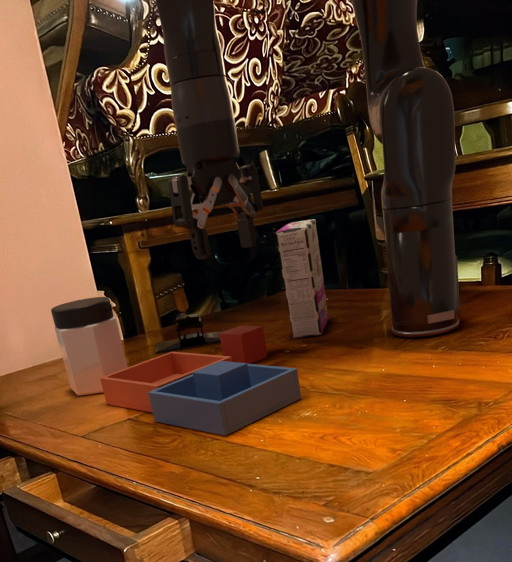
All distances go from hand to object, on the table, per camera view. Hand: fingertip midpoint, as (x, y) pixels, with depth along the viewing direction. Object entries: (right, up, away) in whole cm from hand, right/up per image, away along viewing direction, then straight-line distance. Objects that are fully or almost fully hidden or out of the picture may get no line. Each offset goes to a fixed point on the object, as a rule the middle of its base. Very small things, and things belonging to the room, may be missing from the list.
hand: (226, 252), depth 94 cm
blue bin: (+1, -22, -14) cm, 26 cm away
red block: (+3, -14, +7) cm, 15 cm away
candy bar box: (+13, -7, +19) cm, 24 cm away
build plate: (-7, -9, +24) cm, 26 cm away
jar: (-18, -18, +6) cm, 26 cm away
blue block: (+1, -22, -14) cm, 26 cm away
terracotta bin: (-7, -19, -3) cm, 21 cm away
